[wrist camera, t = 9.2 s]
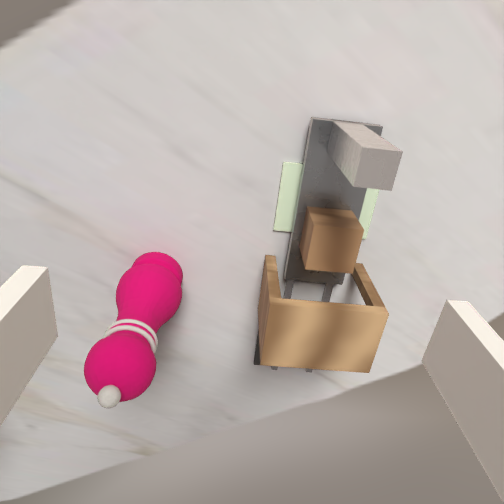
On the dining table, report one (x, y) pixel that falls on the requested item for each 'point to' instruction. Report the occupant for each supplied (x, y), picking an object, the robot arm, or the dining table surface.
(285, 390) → the dining table surface
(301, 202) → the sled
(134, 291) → the pepper mill
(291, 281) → the rails
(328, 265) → the block
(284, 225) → the pad
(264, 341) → the tunnel
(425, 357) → the robot arm
